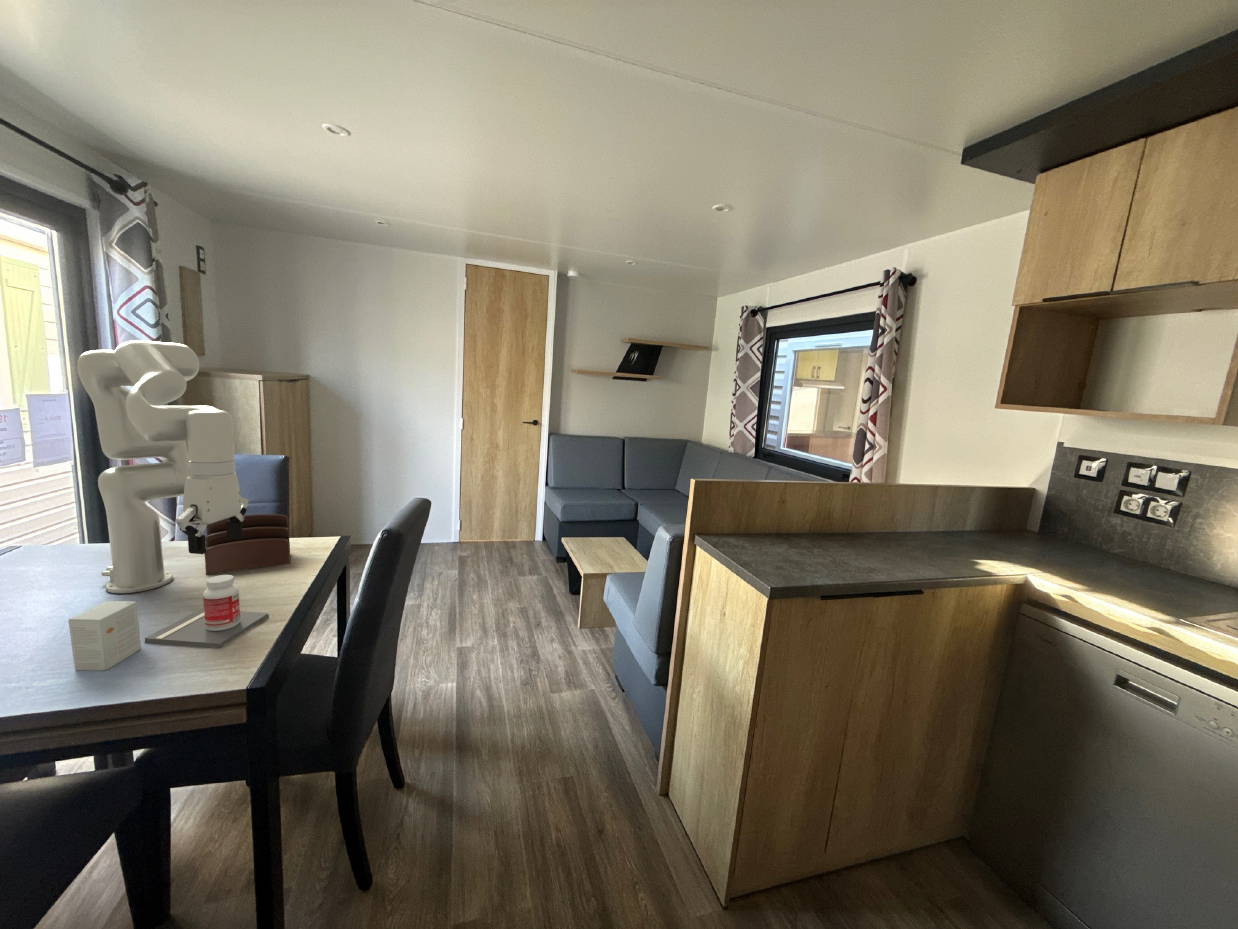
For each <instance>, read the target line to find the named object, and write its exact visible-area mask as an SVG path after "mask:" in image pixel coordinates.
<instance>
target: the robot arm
mask: <svg viewBox="0 0 1238 929" xmlns="http://www.w3.org/2000/svg"><path fill="white" fill-rule="evenodd" d="M77 359H78V360H77V374H78V376H79V380H80V382H81V384H82V385H83V387H84V390H85V391H86V393H87V394H88V396H89V398H90V399H91V401H92V403H93V407H94V412H95V419H96V424H97V425H96V426H97V431H98V437H99V443H100V446H101V451H102V453H103V455H104V456H105V457H107V459H111V460H115V461H117V460H118V461H128V460H130V461H131V460H142V459H143V460H144V459H158V458H160V459H161V460H162V462H151V463H137V464H127V465H125V464H124V465H118V466H114V467H110V468H108V469H105V470H104V471H102V472H101V473H100V474H99V475H98V478H97V483H98V484H97V487H98V489H99V493H100V495H101V498H102V502H103V504H104V508H105V514H106V520H107V528H108V536H109V537H108V538H109V546H110V558H111V565H109V566H107V567H106V568H105V570H102V572H101V576H102V577H109V579H110V580H109V581H108V582H106V584H105V590H106V591H107V592H109V593H112V594H132V593H139V592H145V591H150V590H153V589H156V588H160V587H162V586H165V585H166V584H169V583H170V582H172V580H173V579H174V577H173V573H171V571H170V572H169V571H165V567H164V566H165V565H164V553H163V545H162V530H161V519H160V517H159V514H158V513H157V512H156V511H155V510H154V509H153V508H151V507H150V506H148V505H146V502H150V501H154V500H161V499H163V500H164V499H168V498H177V497H182V498H183V502H182V503H183V504H182V505H183V506H182V507H183V508H182V513H181V514H180V515H178V517H177V518H175V523H176V524H177V526H178V528H179V531H180V532H182V533H183V534H184V536H187V546H188V547H187V548H188V553H189V554H195V555H197V554H198V555H204V554H205V553H206V535H205V534H203V533H204V532H205V530H206V529H207V528H206V526H207V525H209V524H212V523H216V522H219V521H222V520H224V519H228V520H230V521H226V529H227V538H229V539H242V538H243V533H242V522H241V521H243V520H244V515H245V514H246V513H247V507H248V504H249V503H250V502H249V501H250V500H249V499H248V498H246V497H244V496H243V497H242V496H241V491H240V489H241V488H240V483H239V479H238V476H237V472H236V462H235V461H236V460H235V458H236V457H235V444H234V442H235V440H234V424H233V422H234V421H233V417H232V414H231V413H230V412H228V411H226V410H222V409H221V410H220V409H219V408H217V407H215V406H211V405H184V404H183V405H179V404H178V405H170V404H169V403H171V402H174V401H176V400H177V399H180V398H181V396H183V395H184V393H185V392H186V390H187V382H188V381H190V380H192V379H194V378H195V377H196V376H198V375H197V374H198V373H199V371H200V360H199V358H198V355H197V353H196V352H195V351H194V350H193V349H192V348H190V347H189V346H188V345H186V344H183V343H182V344H181V343H177V342H165V341H164V342H162V341H152V340H151V341H150V340H139V339H138V340H129V341H125V342H122V343H120V344H118V346H117V347H116V348H115V349H114V350H113V349H96V350H95V349H94V350H88V351H85V352H83V353H81V355H79V357H78V358H77ZM127 387H131V388H130V390H129V389H128V388H127ZM166 404H169V405H166ZM196 526H198V527H197V528H196Z"/></svg>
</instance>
